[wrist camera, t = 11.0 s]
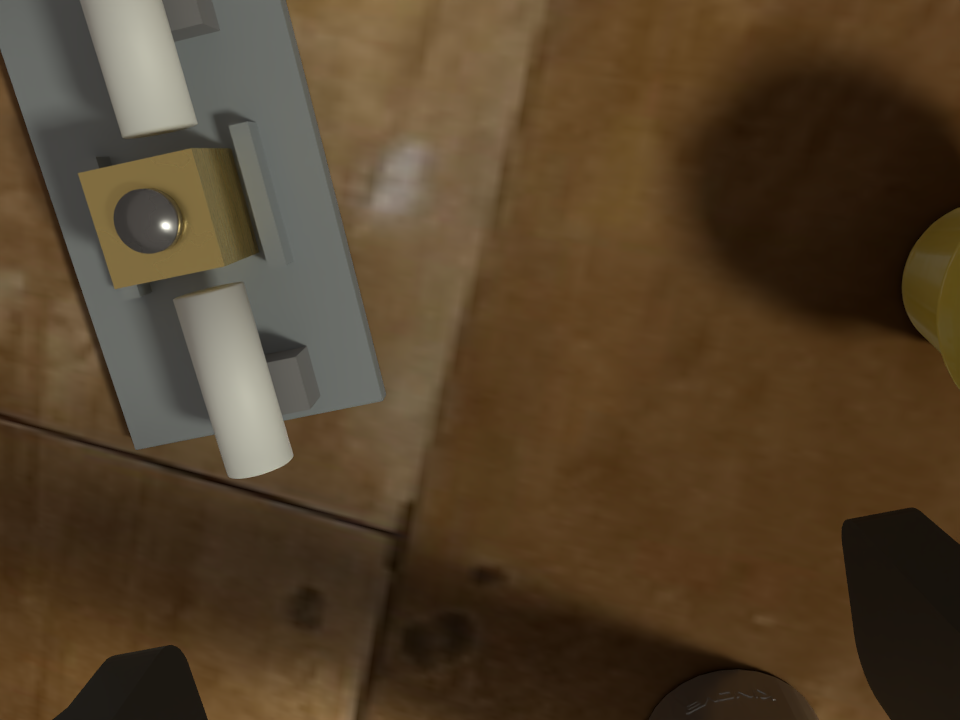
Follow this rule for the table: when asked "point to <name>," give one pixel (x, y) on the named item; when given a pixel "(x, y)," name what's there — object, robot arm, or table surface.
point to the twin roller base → (269, 198)
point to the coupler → (169, 215)
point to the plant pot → (936, 288)
